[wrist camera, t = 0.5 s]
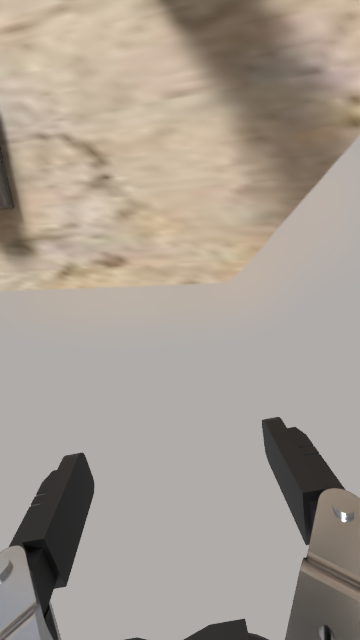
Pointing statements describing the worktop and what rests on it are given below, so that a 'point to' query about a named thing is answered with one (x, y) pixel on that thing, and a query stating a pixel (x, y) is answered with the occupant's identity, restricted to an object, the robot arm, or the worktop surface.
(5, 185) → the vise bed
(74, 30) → the worktop surface
